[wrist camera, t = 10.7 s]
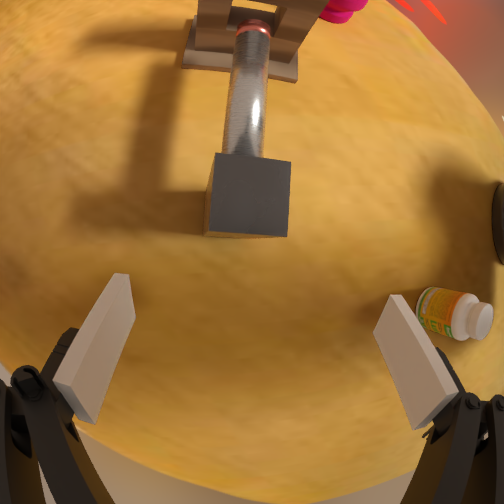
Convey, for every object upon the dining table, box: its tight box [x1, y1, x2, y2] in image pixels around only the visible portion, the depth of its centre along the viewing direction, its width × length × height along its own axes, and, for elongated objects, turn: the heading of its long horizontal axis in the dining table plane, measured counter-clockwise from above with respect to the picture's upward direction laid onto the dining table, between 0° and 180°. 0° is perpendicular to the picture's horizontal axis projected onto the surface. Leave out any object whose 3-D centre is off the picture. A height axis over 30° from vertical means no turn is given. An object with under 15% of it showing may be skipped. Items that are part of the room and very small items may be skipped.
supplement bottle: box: [416, 287, 493, 341], centre depth 26 cm, size 5×5×10 cm
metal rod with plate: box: [203, 19, 291, 239], centre depth 19 cm, size 18×4×11 cm, turn 176°
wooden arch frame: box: [182, 0, 330, 83], centre depth 19 cm, size 8×12×13 cm, turn 86°
